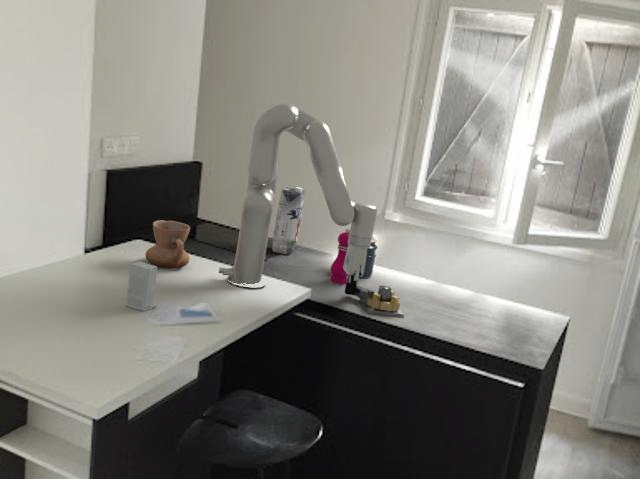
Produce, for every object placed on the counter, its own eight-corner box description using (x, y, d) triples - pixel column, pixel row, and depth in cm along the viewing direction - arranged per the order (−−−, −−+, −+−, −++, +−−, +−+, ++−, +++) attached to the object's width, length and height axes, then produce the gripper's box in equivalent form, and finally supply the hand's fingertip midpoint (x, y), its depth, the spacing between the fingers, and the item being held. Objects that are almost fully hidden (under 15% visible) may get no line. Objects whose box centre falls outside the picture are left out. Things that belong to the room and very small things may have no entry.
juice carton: (269, 251, 277) (280, 185, 272) (275, 246, 287) (286, 183, 282) (291, 256, 276) (302, 190, 270) (296, 251, 286) (307, 187, 281)
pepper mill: (346, 286, 247) (356, 232, 243) (326, 281, 249) (336, 227, 245) (349, 281, 254) (359, 229, 250) (330, 277, 256) (340, 224, 252)
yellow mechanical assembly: (338, 293, 231) (340, 281, 230) (356, 289, 240) (358, 278, 239) (387, 312, 220) (389, 299, 219) (404, 307, 229) (406, 295, 228)
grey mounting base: (367, 313, 221) (372, 290, 219) (359, 301, 232) (363, 279, 231) (403, 317, 223) (408, 295, 222) (393, 305, 235) (397, 284, 233)
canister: (377, 276, 270) (386, 232, 267) (361, 280, 259) (370, 235, 256) (349, 266, 277) (357, 224, 273) (332, 270, 266) (341, 226, 262)
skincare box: (152, 308, 190) (158, 266, 187) (144, 311, 186) (149, 269, 183) (133, 302, 192) (139, 261, 189) (124, 306, 188) (130, 263, 185)
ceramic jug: (137, 257, 236) (142, 217, 232) (178, 257, 243) (183, 219, 240) (154, 274, 221) (159, 232, 218) (196, 274, 229) (202, 233, 226)
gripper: (343, 234, 233) (334, 286, 237) (353, 245, 219) (343, 299, 223) (365, 237, 235) (355, 288, 239) (376, 248, 221) (365, 302, 224)
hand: (349, 293), depth 231 cm, fingers closed
